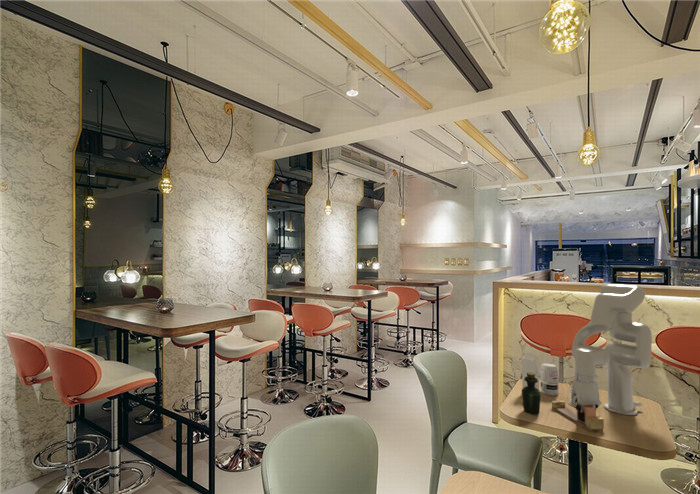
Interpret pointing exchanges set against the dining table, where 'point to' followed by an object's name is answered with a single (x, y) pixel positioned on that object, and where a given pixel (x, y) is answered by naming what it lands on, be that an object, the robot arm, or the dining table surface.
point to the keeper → (588, 412)
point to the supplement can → (549, 379)
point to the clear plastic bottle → (530, 367)
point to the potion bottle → (531, 395)
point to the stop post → (595, 422)
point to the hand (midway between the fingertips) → (586, 419)
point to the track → (570, 414)
